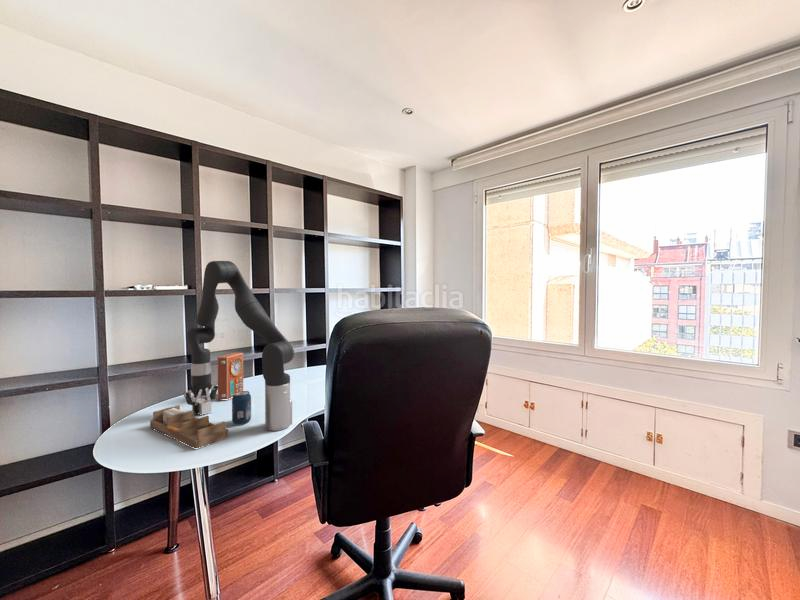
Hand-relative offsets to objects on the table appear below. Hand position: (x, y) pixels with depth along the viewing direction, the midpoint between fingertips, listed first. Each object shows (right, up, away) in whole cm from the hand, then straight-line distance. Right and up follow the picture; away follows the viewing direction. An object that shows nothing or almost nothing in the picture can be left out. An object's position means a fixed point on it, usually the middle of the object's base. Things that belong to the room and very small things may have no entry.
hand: (201, 411), depth 141 cm
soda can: (+23, -1, -10) cm, 25 cm away
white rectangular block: (0, 0, 0) cm, 0 cm away
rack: (+7, -1, -20) cm, 22 cm away
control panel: (+1, 0, +23) cm, 23 cm away
